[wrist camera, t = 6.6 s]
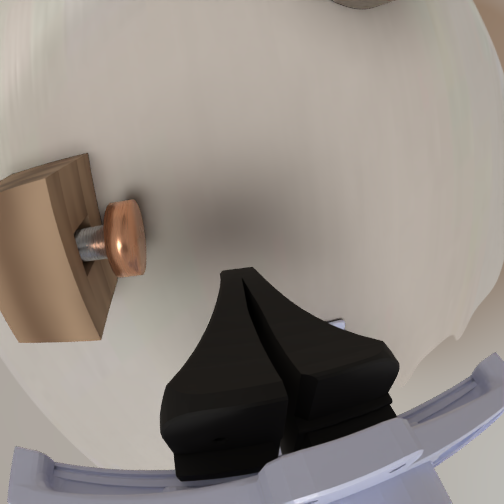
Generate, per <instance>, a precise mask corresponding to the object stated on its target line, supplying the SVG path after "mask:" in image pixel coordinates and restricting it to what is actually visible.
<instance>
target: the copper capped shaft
mask: <svg viewBox="0 0 504 504" xmlns="http://www.w3.org/2000/svg"><path fill="white" fill-rule="evenodd" d="M73 234H74V238H75V241H76V244H77V247H78V251H79V254H80V257H81V260H82V262H86V261H94V260H101V259H108V261H109V264H110V267H111V269H112V271H113V272H114V274H115V275H116V276H117V277H119V278H121V277H129V276H137V275H143V274H144V272H145V269H146V241H145V232H144V226H143V221H142V216H141V212H140V209H139V206H138V204H137V202H136V201H135V200H134V199H132V200H126V201H120V202H114V203H110V204H109V205H108V206H107V208H106V211H105V215H104V225H100V226H94V227H89V228H83V229H77V230H76V231H75V232H74V233H73Z"/></svg>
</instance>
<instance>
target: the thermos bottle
mask: <svg viewBox="0 0 504 504" xmlns="http://www.w3.org/2000/svg"><path fill="white" fill-rule="evenodd" d="M332 1H334V2H336V3H339V4H341V5H344V6H347V7H351V8H356V9H368V8H373V7H376V6H379V5H382V4H385V3H388V2H391V1H395V0H332Z"/></svg>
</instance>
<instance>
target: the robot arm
mask: <svg viewBox="0 0 504 504" xmlns="http://www.w3.org/2000/svg"><path fill="white" fill-rule="evenodd" d="M220 278H221V282H220V289H219V294H218V298H217V302H216V305H215V308H214V311H213V314H212V317H211V319H210V322H209V324H208V326H207V328H206V330H205V332H204V334H203V336H202V338H201V340H200V342H199V343H198V345H197V347H196V348H195V350H194V352H193V353H192V354H191V356H190V357H189V359H188V360H187V361H186V363H185V364H184V366H183V367H182V368H181V369H180V371H179V372H178V373H177V374H176V375H175V376H174V377H173V379H172V380H171V381H170V382H169V383H168V384H167V385H166V388H165V392H164V395H163V400H162V404H161V411H160V433H161V435H162V438H163V439H164V441H165V442H166V444H167V445H168V446H169V448H170V449H171V451H172V452H173V453H174V462H175V470H119V469H105V468H94V467H85V466H77V465H70V464H64V463H58V462H54V461H53V460H52V459H51V458H50V457H48V456H47V455H45V454H44V453H41V452H39V451H36V450H31V449H27V448H23V447H19V446H16V447H15V450H14V455H13V461H12V467H11V473H10V481H9V490H8V501H7V502H8V504H452V501H451V499H450V498H449V496H448V494H447V492H446V490H445V488H444V486H443V484H442V482H441V480H440V478H439V477H438V475H437V473H436V471H435V469H434V467H436V466H437V465H439V464H440V463H442V462H443V461H445V460H446V459H448V458H449V457H450V456H452V455H453V454H455V453H456V452H457V451H458V450H460V449H461V448H463V447H464V446H465V445H467V444H468V443H469V442H470V441H472V440H473V439H474V438H475V437H477V436H478V435H479V434H480V433H482V432H483V431H484V430H485V429H486V428H488V427H489V426H490V425H491V424H492V423H493V422H495V420H497V419H498V418H499V417H500V416H501V415H502V414H503V412H504V361H503V360H502V359H501V358H500V357H499V355H498V354H497V353H496V352H495V353H493V354H491V355H490V356H488V357H487V358H485V359H484V360H483V361H481V362H480V363H479V364H478V366H477V367H476V368H475V369H474V371H473V372H472V375H471V376H470V377H468V378H466V379H465V380H463V381H461V382H460V383H458V384H457V385H455V386H453V387H452V388H450V389H448V390H447V391H445V392H443V393H441V394H440V395H438V396H436V397H434V398H432V399H430V400H428V401H426V402H425V403H423V404H421V405H419V406H417V407H415V408H413V409H411V410H409V411H407V412H404V413H402V414H400V415H398V416H396V414H395V412H394V411H393V409H392V407H391V406H390V404H391V403H392V398H391V397H390V395H389V393H388V392H389V390H390V388H391V386H392V385H393V383H394V381H395V379H396V377H397V374H398V372H399V362H398V361H397V360H396V358H395V357H394V355H393V353H392V352H391V350H390V349H389V348H388V347H387V345H386V344H385V343H384V342H383V341H380V340H376V339H372V338H369V337H365V336H361V335H358V334H355V333H352V332H349V331H346V330H345V329H344V328H345V322H344V320H338V321H334V322H329V323H327V322H325V321H323V320H321V319H319V318H317V317H315V316H313V315H311V314H310V313H308V312H306V311H305V310H303V309H301V308H300V307H298V306H297V305H295V304H294V303H293V302H291V301H290V300H289V299H287V298H286V297H285V296H284V295H282V294H281V293H280V292H279V291H278V290H276V289H275V288H274V287H273V286H272V285H271V284H270V283H269V282H268V281H266V280H265V279H264V278H263V277H262V276H261V275H260V274H259V273H258V272H257V271H256V270H255V269H254V268H253V267H248V268H240V269H233V270H225V271H222V272H221V273H220Z"/></svg>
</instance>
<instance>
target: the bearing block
mask: <svg viewBox="0 0 504 504" xmlns="http://www.w3.org/2000/svg"><path fill="white" fill-rule="evenodd" d="M100 225H102V222H101V218H100V214H99V209H98V205H97V200H96V195H95V190H94V185H93V180H92V175H91V169H90V163H89V157H88V153H86V154H81V155H77V156H73V157H69V158H65V159H62V160H58V161H54V162H51V163H47V164H44V165H40V166H37V167H34V168H31V169H27V170H24V171H21V172H18V173H15V174H12V175H10V176H8V177H6V178H4V179H3V180H1V181H0V311H1V313H2V314H3V316H4V318H5V320H6V322H7V323H8V325H9V327H10V329H11V330H12V332H13V334H14V335H15V337H16V338H17V340H18V342H19V343H41V342H75V341H95V340H101V339H102V335H103V331H104V327H105V323H106V319H107V315H108V312H109V308H110V304H111V301H112V297H113V294H114V291H115V287H116V284H117V281H118V280H117V276H116V275H115V274H114V272H113V271H112V269H111V267H110V264H109V261H108V259H101V260H94V261H86V262H82V260H81V257H80V254H79V251H78V247H77V244H76V241H75V238H74V234H73V233H74V232H75V231H76V230H77V229H83V228H89V227H94V226H100Z"/></svg>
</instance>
